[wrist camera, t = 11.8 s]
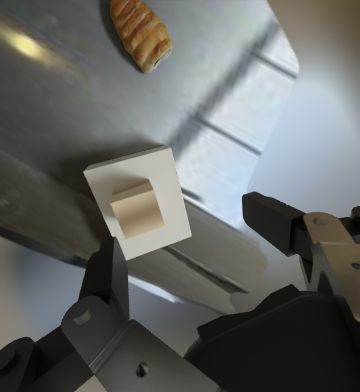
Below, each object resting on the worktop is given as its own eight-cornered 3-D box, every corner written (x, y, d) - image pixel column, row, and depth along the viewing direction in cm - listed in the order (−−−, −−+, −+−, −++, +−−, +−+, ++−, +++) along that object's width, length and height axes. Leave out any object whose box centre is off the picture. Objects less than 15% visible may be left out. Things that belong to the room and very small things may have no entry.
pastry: (99, 21, 26) (95, 4, 23) (131, -15, 26) (132, -37, 22) (146, 79, 30) (149, 73, 27) (175, 49, 30) (182, 39, 26)
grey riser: (88, 165, 32) (82, 171, 27) (164, 145, 34) (171, 147, 30) (123, 245, 39) (123, 261, 34) (184, 224, 41) (191, 236, 37)
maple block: (112, 189, 29) (110, 203, 24) (148, 178, 30) (153, 189, 25) (125, 220, 32) (125, 239, 26) (158, 209, 33) (164, 225, 27)
